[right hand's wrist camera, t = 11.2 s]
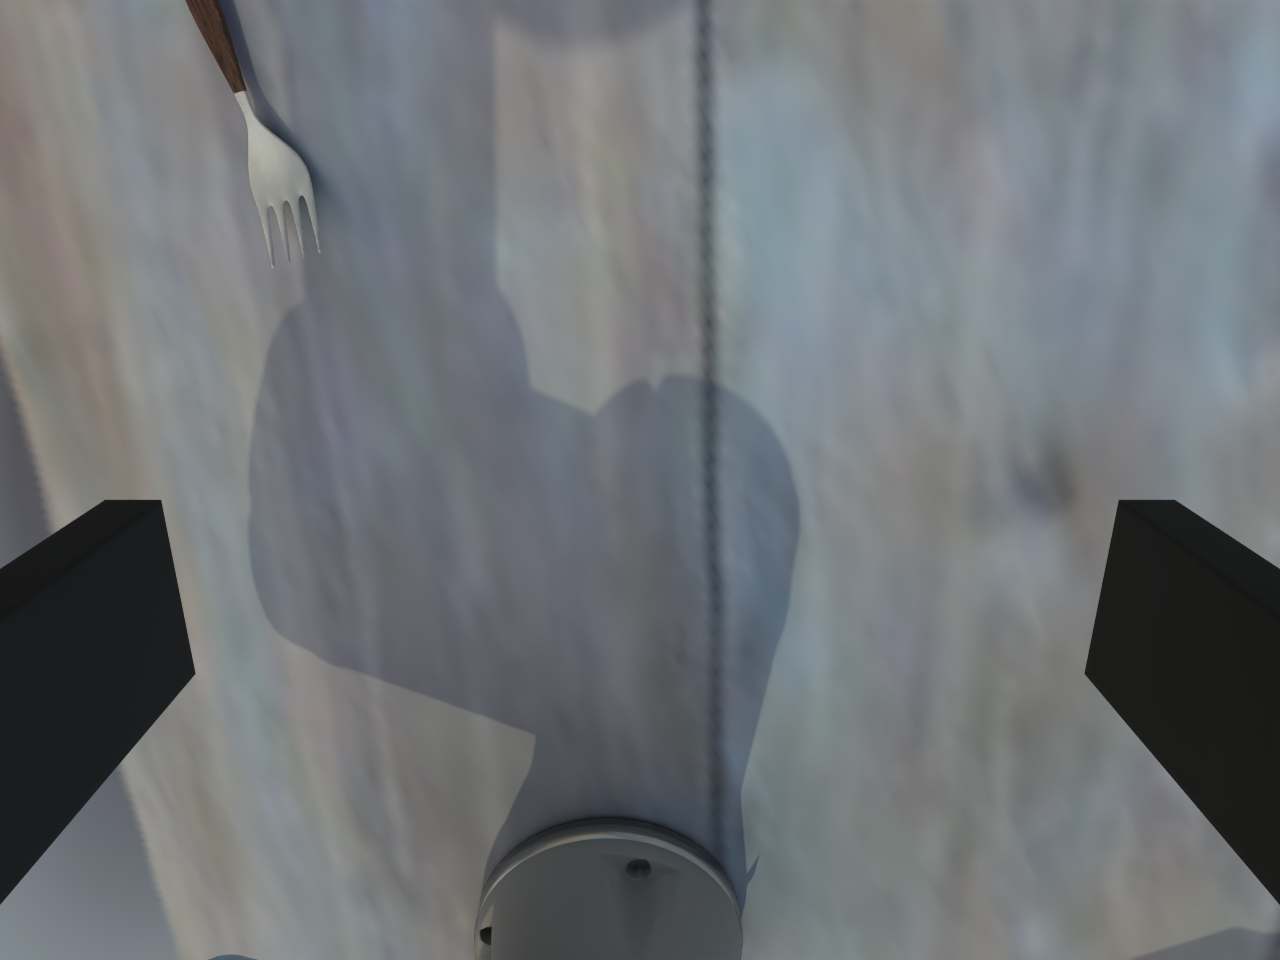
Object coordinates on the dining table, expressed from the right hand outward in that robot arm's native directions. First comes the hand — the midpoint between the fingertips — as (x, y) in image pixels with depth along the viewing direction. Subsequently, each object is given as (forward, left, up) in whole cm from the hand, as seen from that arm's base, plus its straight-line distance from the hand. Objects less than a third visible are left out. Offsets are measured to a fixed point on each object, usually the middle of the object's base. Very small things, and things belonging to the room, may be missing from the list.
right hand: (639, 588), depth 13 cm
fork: (-10, +16, -29) cm, 35 cm away
